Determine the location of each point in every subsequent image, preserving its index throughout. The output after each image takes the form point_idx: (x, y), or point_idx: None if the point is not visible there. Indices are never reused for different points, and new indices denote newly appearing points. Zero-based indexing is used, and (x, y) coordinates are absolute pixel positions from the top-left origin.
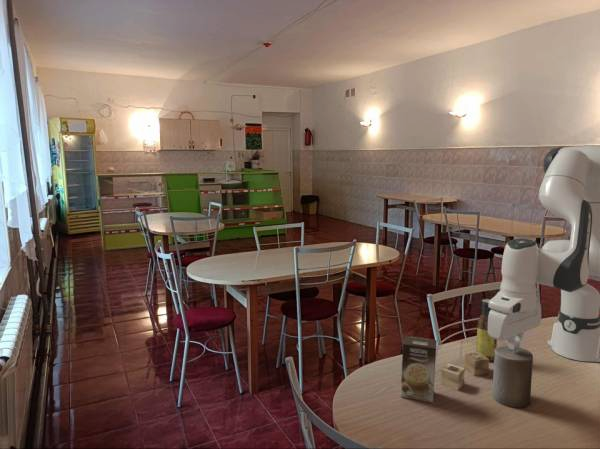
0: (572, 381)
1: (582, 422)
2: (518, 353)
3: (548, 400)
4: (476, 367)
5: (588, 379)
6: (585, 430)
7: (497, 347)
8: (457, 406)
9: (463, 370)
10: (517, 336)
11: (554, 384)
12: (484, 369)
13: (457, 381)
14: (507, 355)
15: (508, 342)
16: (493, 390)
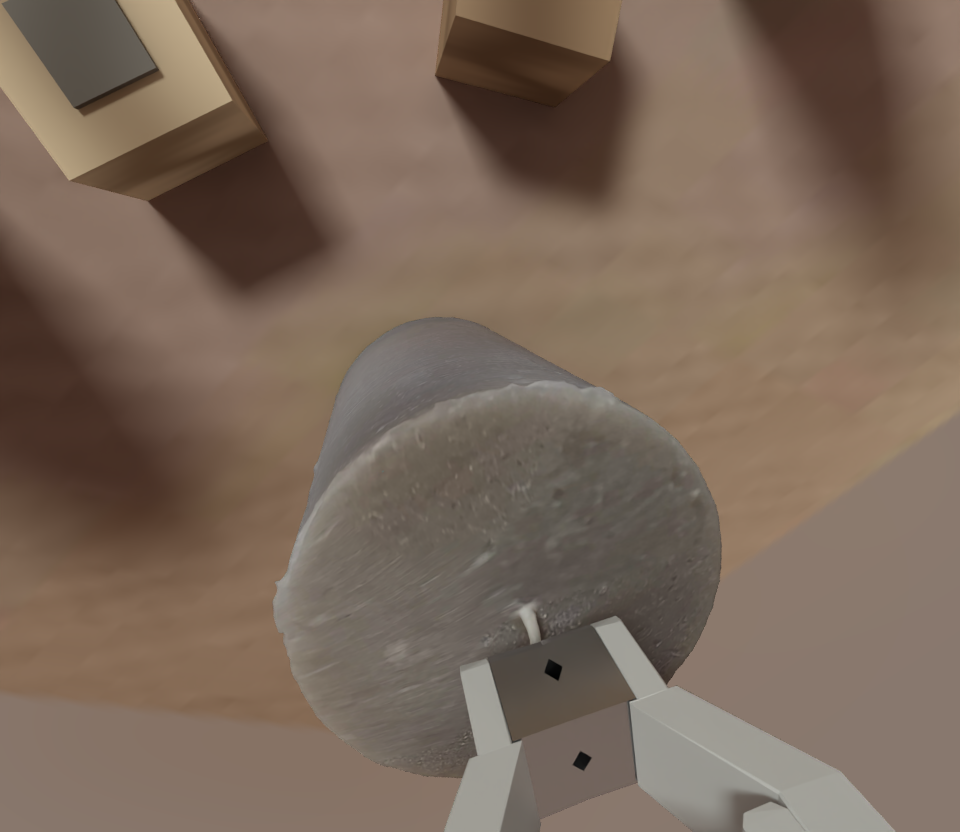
0: (865, 394)
1: None
2: None
3: None
4: (463, 51)
5: (935, 406)
6: None
7: (457, 415)
8: (17, 376)
9: (202, 118)
10: (719, 807)
11: (771, 385)
12: (534, 84)
13: (106, 187)
14: (368, 670)
15: (475, 741)
16: (341, 386)
